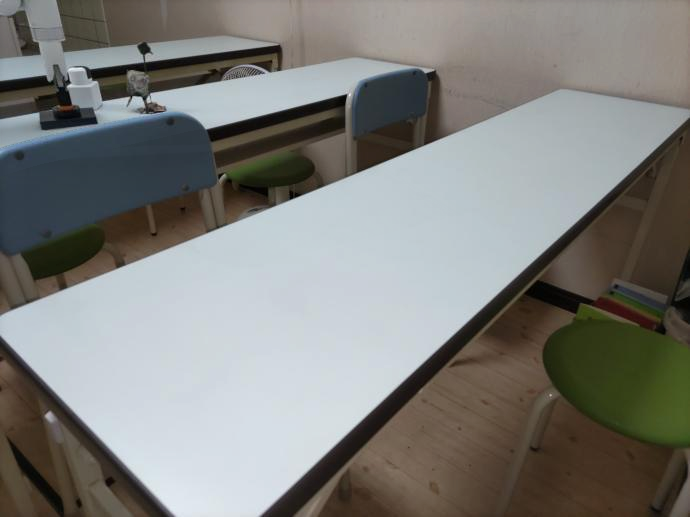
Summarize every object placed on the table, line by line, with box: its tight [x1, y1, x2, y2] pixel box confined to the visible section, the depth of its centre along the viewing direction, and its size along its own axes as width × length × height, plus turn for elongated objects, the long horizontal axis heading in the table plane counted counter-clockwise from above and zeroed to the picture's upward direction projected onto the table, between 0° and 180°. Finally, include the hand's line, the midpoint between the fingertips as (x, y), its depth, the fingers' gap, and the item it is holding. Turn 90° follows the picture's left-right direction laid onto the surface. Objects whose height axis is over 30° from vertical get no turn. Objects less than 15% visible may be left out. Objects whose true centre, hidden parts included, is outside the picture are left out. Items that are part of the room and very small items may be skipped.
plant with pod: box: [125, 40, 167, 115], centre depth 151 cm, size 8×11×20 cm
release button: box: [56, 104, 74, 110], centre depth 143 cm, size 4×4×2 cm
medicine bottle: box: [67, 65, 104, 111], centre depth 155 cm, size 7×7×12 cm
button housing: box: [38, 105, 99, 131], centre depth 144 cm, size 14×11×4 cm
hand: (65, 105), depth 142 cm, fingers closed
